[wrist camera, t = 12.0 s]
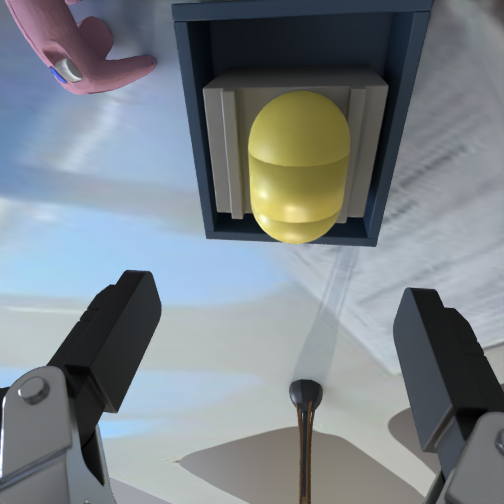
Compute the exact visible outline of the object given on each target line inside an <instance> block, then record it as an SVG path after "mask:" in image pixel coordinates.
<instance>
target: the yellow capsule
mask: <svg viewBox="0 0 504 504" xmlns="http://www.w3.org/2000/svg"><path fill="white" fill-rule="evenodd" d="M350 142H351V136H350V130H349V126H348V124H347V121H346V119H345V117H344V115H343V113H342V112H341V111H340V109H339V108H338V107H337V106H336V105H335V104H334V103H333V102H332V101H331V100H330V99H328V98H326V97H324V96H322V95H321V94H318V93H314V92H310V91H293V92H289V93H285V94H282V95H280V96H279V97H277V98H275V99H273V100H272V101H270V102H269V103H268V104H267V105H266V106H265V107H264V108H263V109H262V110H261V112H260V113H259V114H258V116H257V117H256V119H255V121H254V123H253V125H252V128H251V132H250V136H249V143H248V154H249V175H250V197H251V206H252V211H253V214H254V217H255V219H256V221H257V222H258V224H259V225H260V227H261V228H262V229H263V230H264V231H265V232H266V233H267V234H268V235H270V236H271V237H273V238H274V239H276V240H279V241H282V242H285V243H290V244H302V243H306V242H310V241H313V240H316V239H318V238H319V237H321V236H322V235H324V234H325V233H326V232H327V231H328V230H329V229H330V228H331V227H332V226H333V225H334V224H335V222H336V220H337V218H338V216H339V214H340V212H341V208H342V204H343V197H344V190H345V183H346V176H347V169H348V162H349V155H350Z"/></svg>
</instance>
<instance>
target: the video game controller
mask: <svg viewBox="0 0 504 504" xmlns="http://www.w3.org/2000/svg"><path fill="white" fill-rule="evenodd" d="M81 1H83V0H5V2H6V4H7V6H8V8H9V11H10V13H11V14H12V16H13V18H14V20H15V22H16V23H17V25H18V27H19V28H20V30H21V32H22V33H23V35H24V36H25V38H26V40H27V41H28V42H29V44H30V45H31V46H32V48H33V49H34V50H35V52H36V53H37V54H38V56H39V57H40V58H41V60H42V61H43V62H44V63H45V64H46V65H47V66H48V67H49V68H50V69H51V71H52V73H53V74H54V76H55V78H56V79H57V81H58V82H59V83H60V84H61V85H62V86H63V87H64V88H65V89H67V90H68V91H70V92H72V93H74V94H79V95H86V94H93V93H101V92H106V91H111V90H114V89H117V88H120V87H123V86H125V85H127V84H129V83H131V82H133V81H135V80H137V79H139V78H141V77H143V76H145V75H147V74H149V73H150V72H151V71H153V69H154V68H155V67H156V65H157V60H156V59H155V58H154V57H152V56H135V57H130V58H125V59H120V60H105V58H106V56H107V54H108V53H109V51H110V50H111V48H112V45H113V38H112V34H111V32H110V30H109V28H108V27H107V26H106V24H105V23H104V22H103V21H102V20H100V19H99V18H97V17H93V16H91V17H87V18H85V19H84V20H82V21H80V22H79V23H78V24H76V22H75V20H74V18H73V16H72V14H71V12H70V10H69V8H68V6H67V4H71V5H73V4H76V3H78V2H81Z"/></svg>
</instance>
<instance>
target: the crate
mask: <svg viewBox="0 0 504 504" xmlns="http://www.w3.org/2000/svg"><path fill="white" fill-rule="evenodd" d="M433 1H434V0H241V1H221V2H201V3H181V4H172V5H171V8H172V14H173V20H174V21H175V22H174V29H175V35H176V42H177V49H178V55H179V62H180V69H181V75H182V82H183V89H184V95H185V102H186V109H187V115H188V122H189V129H190V135H191V142H192V149H193V155H194V162H195V169H196V175H197V182H198V188H199V195H200V202H201V208H202V215H203V222H204V228H205V234H206V239H221V240H242V241H263V242H282V241H279V240H276V239H274V238H273V237H271V236H270V235H268V234H267V233H266V232H265V231H264V230H263V229H262V228H261V227H260V225H259V224H258V222H257V221H256V219H255V217H254V214H253V213H245V214H244V217H243V219H233V218H232V214H231V212H217V205H216V197H215V188H214V180H213V171H212V163H211V154H210V146H209V137H208V129H207V120H206V112H205V103H204V95H203V88H204V87H205V86H206V85H208V84H209V83H210V82H211V81H212V80H214V79H215V78H216V77H217V76H218V75H220V74H221V73H222V72H223V71H224V70H226V69H227V68H236V67H279V66H323V65H366V64H368V65H370V66H371V67H372V68H373V69H374V71H375V72H376V73H377V74H378V75H379V76H380V77H381V78H382V79H383V80H384V81H385V82H386V83H387V84H388V86H389V88H388V93H387V98H386V103H385V109H384V114H383V119H382V124H381V129H380V134H379V140H378V145H377V150H376V155H375V160H374V166H373V171H372V176H371V181H370V186H369V192H368V197H367V202H366V207H365V212H364V216H363V217H347V221H346V223H335V224H334V225H333V226H332V227H331V228H330V229H329V230H328V231H327V232H326V233H325V234H324V235H322V236H321V237H319V238H318V239H316V240H313V241H310V242H306V243H305V244H327V245H348V246H369V247H376V245H377V240H378V236H379V232H380V227H381V223H382V219H383V215H384V210H385V206H386V202H387V198H388V193H389V189H390V185H391V180H392V176H393V172H394V168H395V163H396V159H397V155H398V151H399V146H400V142H401V138H402V133H403V129H404V125H405V121H406V116H407V112H408V108H409V104H410V99H411V95H412V91H413V86H414V82H415V78H416V74H417V69H418V65H419V61H420V57H421V52H422V48H423V44H424V39H425V35H426V31H427V27H428V22H429V18H430V14H431V12H430V10H431V9H432V5H433ZM284 243H285V242H284Z"/></svg>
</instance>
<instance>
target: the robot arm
mask: <svg viewBox="0 0 504 504" xmlns="http://www.w3.org/2000/svg"><path fill="white" fill-rule="evenodd" d="M160 317H161V301H160V298H159V295H158V291H157V288H156V285H155V281H154V278H153V275H152V273H151V272H150V271H138V270H126V271H125V272H124V273H123V274H122V276H121V277H120V279H119V280H118V282H117V283H116V285H111V284H110V285H109V286H107V287H106V288H105V289H104V290H102V291H101V292H100V293H99V294H97V295H96V296H95V298H94V299H93V301H92V302H91V303H90V305H89V306H88V308H87V311H85V312H84V313H83V315H82V316H81V318H80V321H79V322H77V323H76V325H75V326H74V327H73V329H72V330H71V332H70V333H69V335H68V336H67V337H66V339H65V340H64V342H63V343H62V344H61V346H60V347H59V349H58V350H57V352H56V353H55V354H54V356H53V357H52V359H51V360H50V361H49V363H48V364H47V365H46V366H43V367H39V368H36V369H33V370H31V371H29V372H27V373H26V374H24V375H23V376H21V377H20V378H19V379H17V380H16V381H15V382H14V383H13V384H12V386H10V387H5V388H0V504H117V503H116V500H115V498H114V496H113V493H112V489H111V485H110V480H109V475H108V470H107V464H106V459H105V454H104V449H103V443H102V438H101V433H100V428H99V425H98V421H99V419H100V417H101V415H102V413H103V412H109V413H118V410H119V408H120V406H121V404H122V402H123V399H124V397H125V395H126V393H127V391H128V389H129V386H130V384H131V382H132V380H133V378H134V375H135V373H136V371H137V369H138V367H139V364H140V362H141V360H142V358H143V356H144V353H145V351H146V349H147V347H148V345H149V343H150V340H151V338H152V336H153V334H154V332H155V329H156V327H157V325H158V323H159V320H160ZM393 337H394V343H395V347H396V351H397V354H398V358H399V362H400V366H401V370H402V374H403V378H404V382H405V386H406V390H407V394H408V398H409V402H410V406H411V409H412V414H413V418H414V422H415V425H416V430H417V434H418V437H419V441H420V445H421V449H422V452H430V453H437V454H438V458H439V461H440V465H441V468H440V469H439V471H438V473H437V475H436V477H435V479H434V481H433V483H432V485H431V487H430V489H429V491H428V493H427V495H426V498H425V500H424V502H423V504H504V393H503V390H502V388H501V386H500V384H499V382H498V380H497V378H496V376H495V374H494V372H493V370H492V368H491V366H490V364H489V362H488V360H487V358H486V356H484V352H483V350H482V348H481V346H480V344H479V342H477V338H476V336H475V334H474V332H473V330H472V328H471V326H470V324H469V322H468V321H467V320H466V319H465V318H464V317H463V316H462V315H461V314H460V313H459V312H458V311H457V310H456V309H455V308H444V306H443V303H442V301H441V299H440V297H439V294H438V292H437V291H436V290H435V289H425V288H406V289H405V291H404V293H403V296H402V299H401V302H400V305H399V308H398V311H397V314H396V317H395V320H394V325H393Z"/></svg>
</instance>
